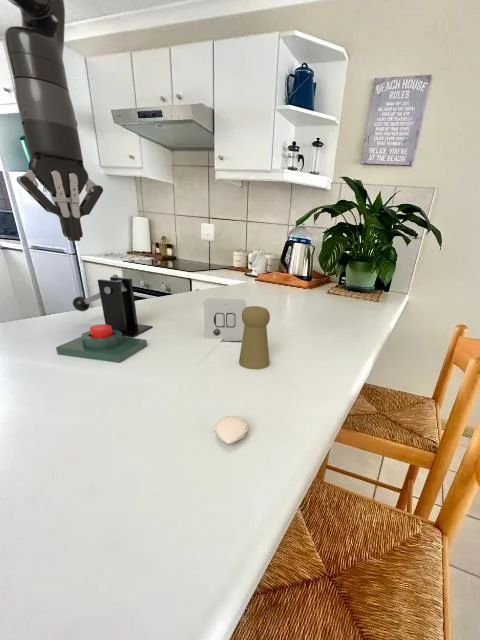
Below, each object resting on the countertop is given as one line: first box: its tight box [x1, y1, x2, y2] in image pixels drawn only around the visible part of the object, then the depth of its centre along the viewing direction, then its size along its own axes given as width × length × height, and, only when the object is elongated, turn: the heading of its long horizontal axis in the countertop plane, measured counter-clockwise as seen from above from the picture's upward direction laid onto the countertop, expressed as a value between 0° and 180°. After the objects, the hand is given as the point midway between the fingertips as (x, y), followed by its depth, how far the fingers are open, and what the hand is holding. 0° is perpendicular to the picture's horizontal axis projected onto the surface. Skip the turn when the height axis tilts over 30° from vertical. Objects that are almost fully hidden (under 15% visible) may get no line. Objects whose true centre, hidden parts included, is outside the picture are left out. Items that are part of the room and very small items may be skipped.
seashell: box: [213, 415, 249, 445], centre depth 40 cm, size 4×5×2 cm
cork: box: [238, 305, 271, 370], centre depth 61 cm, size 6×6×11 cm
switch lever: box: [72, 280, 127, 312], centre depth 70 cm, size 13×3×3 cm, turn 82°
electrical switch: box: [203, 297, 247, 342], centre depth 73 cm, size 9×5×9 cm, turn 102°
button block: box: [55, 329, 148, 364], centre depth 61 cm, size 12×9×4 cm
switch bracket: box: [97, 276, 154, 338], centre depth 70 cm, size 10×8×12 cm
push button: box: [88, 323, 113, 338], centre depth 60 cm, size 4×4×2 cm
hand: (74, 240), depth 59 cm, fingers closed
